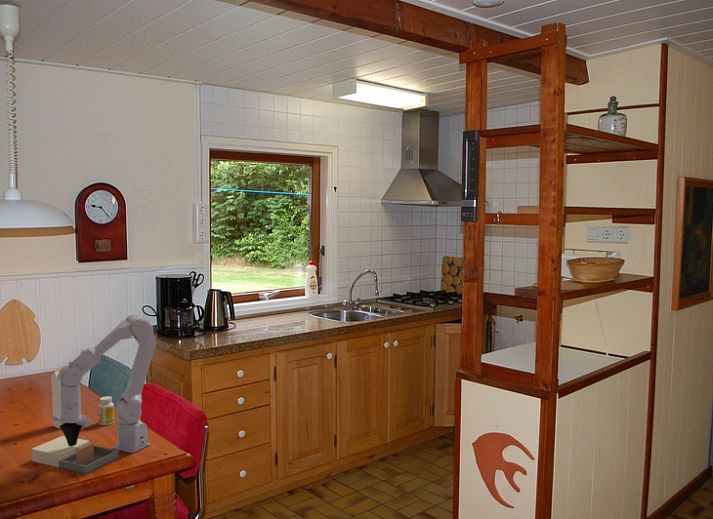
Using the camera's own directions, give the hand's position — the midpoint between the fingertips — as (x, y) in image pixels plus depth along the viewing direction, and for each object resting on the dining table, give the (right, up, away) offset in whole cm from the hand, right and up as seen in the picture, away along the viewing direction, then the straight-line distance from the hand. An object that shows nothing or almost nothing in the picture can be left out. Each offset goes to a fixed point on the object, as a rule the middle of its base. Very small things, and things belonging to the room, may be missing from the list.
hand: (72, 445), depth 193 cm
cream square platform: (-5, -5, +2) cm, 7 cm away
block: (+4, -2, -2) cm, 5 cm away
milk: (-17, -2, +30) cm, 35 cm away
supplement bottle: (-3, -2, +33) cm, 33 cm away
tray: (+6, -5, -2) cm, 8 cm away
